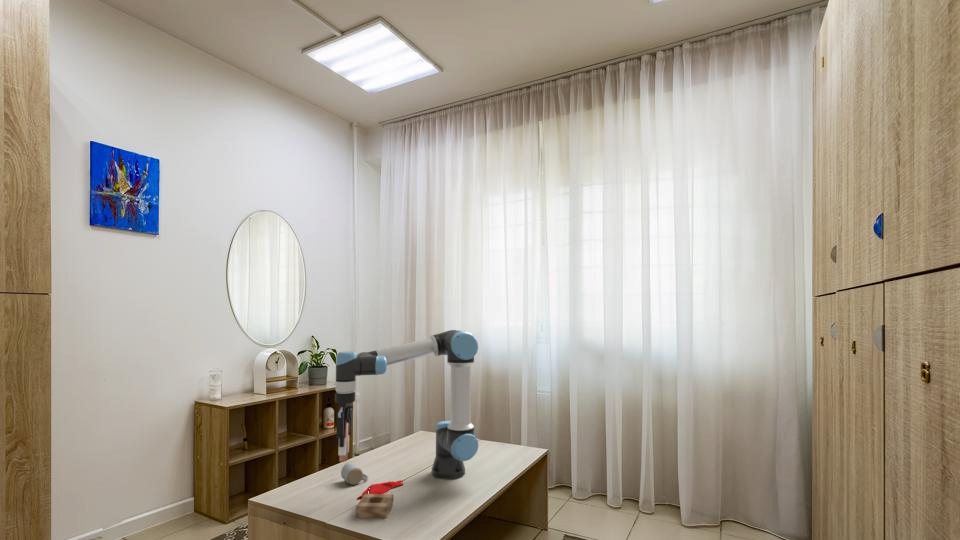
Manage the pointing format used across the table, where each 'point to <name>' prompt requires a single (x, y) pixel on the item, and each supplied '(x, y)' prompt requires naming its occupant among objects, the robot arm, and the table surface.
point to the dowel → (344, 457)
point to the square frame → (374, 506)
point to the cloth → (381, 488)
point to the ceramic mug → (353, 473)
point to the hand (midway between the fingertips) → (343, 453)
